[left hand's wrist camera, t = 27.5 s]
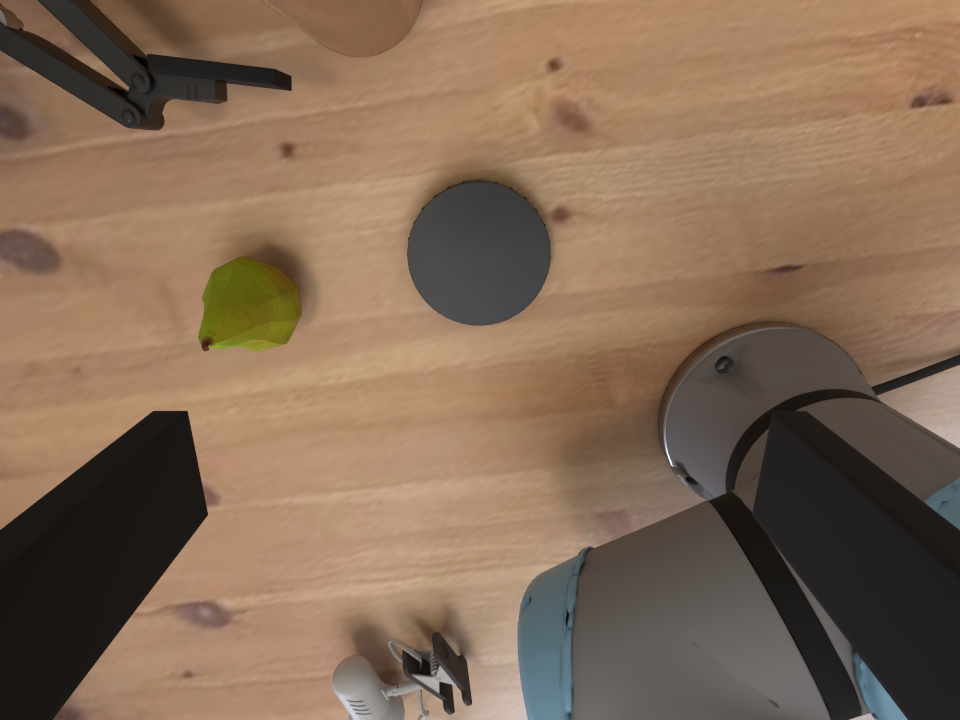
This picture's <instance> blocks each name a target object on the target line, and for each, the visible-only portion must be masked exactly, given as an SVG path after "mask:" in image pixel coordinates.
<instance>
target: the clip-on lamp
mask: <svg viewBox="0 0 960 720" xmlns="http://www.w3.org/2000/svg"><path fill="white" fill-rule="evenodd" d="M432 638H433V650H424V649H416V648H411V647H408V646H407V645H406V644H404V643H402V642H401V641H399V640H397V639H395V638H391V639H390V640H389V641H388V645H389V648H390V650H391V652H392V653H393V655H394V656H395V658H396V659H397V660H398V661H400V662H402V663H403V671H404V673H405V675H406V677H407V678H409V679H410V680H409V681H406V682H402V683H398V684H395V685H392V686H391V685H389V684H386V683H384V682H383V681H381V679H380V678H379V676H378V675H377V673H376V671H375V670H374V668H373V667H372V665H371V664H370V662H369V661H368V660H367V659H365V658H364V657H363V656H359V655H355V656H350V657H347V658H345V659H344V660H343V661H341V662H340V663H339V665H338V666H337V667H336V669H335V671H334V673H333V678H332V688H333V690H334V691H335V693H336V694H337V696H338V697H339V699H340V700H341V702H342V703H343V705H344V706H345V708H346V709H347V711H348V712H349V720H404V714H405V709H404V703H403V699H402V697H401V696H400V695H402V694H406V693H409V692H413V691H417V690H418V691H419V707H420V712H421V715H420V716H419V718H418V720H422V719H424V718H426V717H428V716H429V711H425V710H424V708H423V704H422V689H426V690H427V691H429V692H430V693H432V694H433V695H435V696H436V697H438V698H440V699H441V700H443V707H444V710H445V712H447V713H448V714H449V715H451V714H453V713H454V712H455V710H454V700H453V690H452V685H455V686H457V687H458V688H459V689H460V690H461V692H462V699H463V702H464V703H465V704H466V705H467V706H469V705H472V699H471V691H470V683H469V675H468V668H467V661H466V659H465V657H464V656H463V655H459V656H457V655H456V654H455V652H454V651H453V650H452V649H451V647H450V646H449V645H448V643H447V642H446V641H445V640H444V638H443V637H442V636H441V634H440V633H439V632H436V633H434V634H433V637H432ZM393 644H395V645H397V646H398V647H400V648H402V649H403V652H402V654H403V656H401V655H400V654H399V653H398V652H397V650H396V649H395V647H394V645H393Z"/></svg>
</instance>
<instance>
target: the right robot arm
mask: <svg viewBox="0 0 960 720" xmlns="http://www.w3.org/2000/svg"><path fill="white" fill-rule="evenodd" d="M38 1H39V2H40V3H41V4H42V5H43V6H44V7H45V8H46V9H47V10H49V11H50V12H51V13H52V14H53V15H54V16H55V17H56V18H57V19H58V20H59V21H60V22H61V23H62V24H63V25H64V26H65V27H66V28H67V29H69V30H70V31H71V32H72V33H73V34H74V35H75V36H76V37H77V38H78V39H79V40H80V41H81V42H82V43H83V44H84V45H85V46H86V47H87V48H89V49H90V50H91V51H92V52H93V53H94V54H95V55H96V56H97V57H98V58H99V59H100V60H101V61H102V62H103V63H104V64H105V65H106V66H107V67H109V68H110V69H111V70H112V71H113V72H114V73H115V74H116V75H117V76H118V77H119V78H120V79H121V80H122V81H123V82H124V83H125V84H126V85H127V86H129V87H130V88H129V91H127V90H126V89H124V88H122V87H121V86H119V85H118V84H116V83H114V82H113V81H111V80H110V79H108V78H106V77H105V76H103V75H102V74H100V73H98V72H97V71H95V70H94V69H92V68H90V67H89V66H87V65H86V64H84V63H82V62H81V61H79V60H78V59H76V58H74V57H73V56H71V55H70V54H68V53H66V52H65V51H63V50H62V49H60V48H58V47H57V46H55V45H54V44H52V43H50V42H49V41H47V40H45V39H43V38H42V37H40V36H37V35H35V34H33V33H30V32H27V31H24V30H23V27H24V26H23V23H22V21H21V20H19V19H18V18H17V17H16V15H15V14H14V13H13V12H12V11H10V10H8V9H6V8H5V7H3V6H2V5H1V3H0V50H1V51H2V52H4V53H6V54H7V55H9V56H10V57H12V58H14V59H15V60H17V61H19V62H20V63H22V64H24V65H25V66H27V67H28V68H30V69H32V70H33V71H35V72H37V73H38V74H40V75H42V76H43V77H45V78H46V79H48V80H50V81H51V82H53V83H55V84H56V85H58V86H60V87H61V88H63V89H64V90H66V91H68V92H69V93H71V94H73V95H74V96H76V97H78V98H79V99H81V100H82V101H84V102H86V103H87V104H89V105H91V106H92V107H94V108H96V109H97V110H99V111H101V112H102V113H104V114H105V115H107V116H109V117H110V118H112V119H114V120H115V121H117V122H119V123H120V124H122V125H123V126H125V127H128V128H133V129H144V130H159V129H161V128H162V127H163V126H164V116H163V115H162V112H163V109H164V106H165V104H166V103H167V102H168V101H169V100H172V99H181V100H189V101H198V102H206V103H215V104H220V103H223V102H226V101H227V83H230V84H238V85H246V86H255V87H263V88H272V89H280V90H289V91H292V83H291V76H290V75H287V74H285V73H283V72H280V71H278V70H276V69H270V68H261V67H253V66H245V65H236V64H228V63H220V62H211V61H203V60H195V59H186V58H178V57H170V56H161V55H153V54H147V56H148V57H147V56H146V55H145V54H144V53H143V52H142V51H141V50H140V49H139V48H138V47H137V46H136V45H135V44H134V43H133V42H132V41H131V40H130V39H129V38H128V37H127V36H126V35H124V34H123V33H122V32H121V31H120V30H119V29H118V28H117V27H116V26H115V25H114V24H113V23H112V22H111V21H110V20H109V19H108V18H107V17H106V16H105V15H104V14H103V13H102V12H101V11H100V10H99V9H98V8H97V7H96V6H95V5H94V4H93V3H92V2H91V1H90V0H38Z"/></svg>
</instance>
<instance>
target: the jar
mask: <svg viewBox="0 0 960 720" xmlns="http://www.w3.org/2000/svg"><path fill="white" fill-rule="evenodd" d="M260 1H261V2H262V3H264V4H265V5H267V6H268V7H269V8H271V9H272V10H274V11H275V12H277V13H278V14H279V15H281V16H282V17H284V18H285V19H286V20H288V21H289V22H291V23H292V24H293V25H295V26H296V27H298V28H299V29H300V30H302V31H303V32H305V33H306V34H307V35H309V36H310V37H312V38H313V39H314V40H316V41H317V42H319V43H320V44H322V45H323V46H325V47H326V48H328V49H330V50H332V51H334V52H336V53H339V54H342V55H346V56H352V57H367V56H373V55H376V54H380V53H382V52H384V51H387V50H388V49H390V48H392V47H393V46H395V45H396V44H397V43H398V42H399V41H401V40H402V39H403V38H404V36H405V35H406V34H407V33H408V32H409V30H410V29H411V27H412V26H413V24H414V22H415V20H416V18H417V16H418V13H419V11H420V8H421V4H422V0H260Z"/></svg>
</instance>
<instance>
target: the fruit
mask: <svg viewBox="0 0 960 720" xmlns="http://www.w3.org/2000/svg"><path fill="white" fill-rule="evenodd" d="M202 300H203V304H204V316H203V320H202V324H201V328H200V332H199V336H198V338H199V341H200V343H201V344H202V349H203V350H204V351H208V350H209V348H208V347H211V348H217V349H225V348H230V347H233V346H239V347H243V348H247V349H251V350H255V351H260V350H264V349H268V348H272V347H275V346H279V345H283V344H286V343H287V342H288V341H289V339H290V338H291V336H292V333H293V331H294V329H295V327H296V325H297V323H298V320H299V318H300V316H301V306H300V298H299V290H298V286H297V285H295V284H294V283H293V282H292V281H291V280H290V279H289V278H288V277H287V276H286V275H285V274H284V273H283V272H282V271H281V270H280V269H279V268H278V267H275V266H273V265H270V264H267V263H264V262H261V261H258V260H255V259H252V258H249V257H239V258H237V259H235V260H233V261H231V262H229V263H227V264H225V265H223V266H221V267H219V268H217V269H215V270H214V271H213V272H212V274H211V276H210V279H209V281H208V284H207V286H206V289H205V291H204V294H203V296H202Z"/></svg>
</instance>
